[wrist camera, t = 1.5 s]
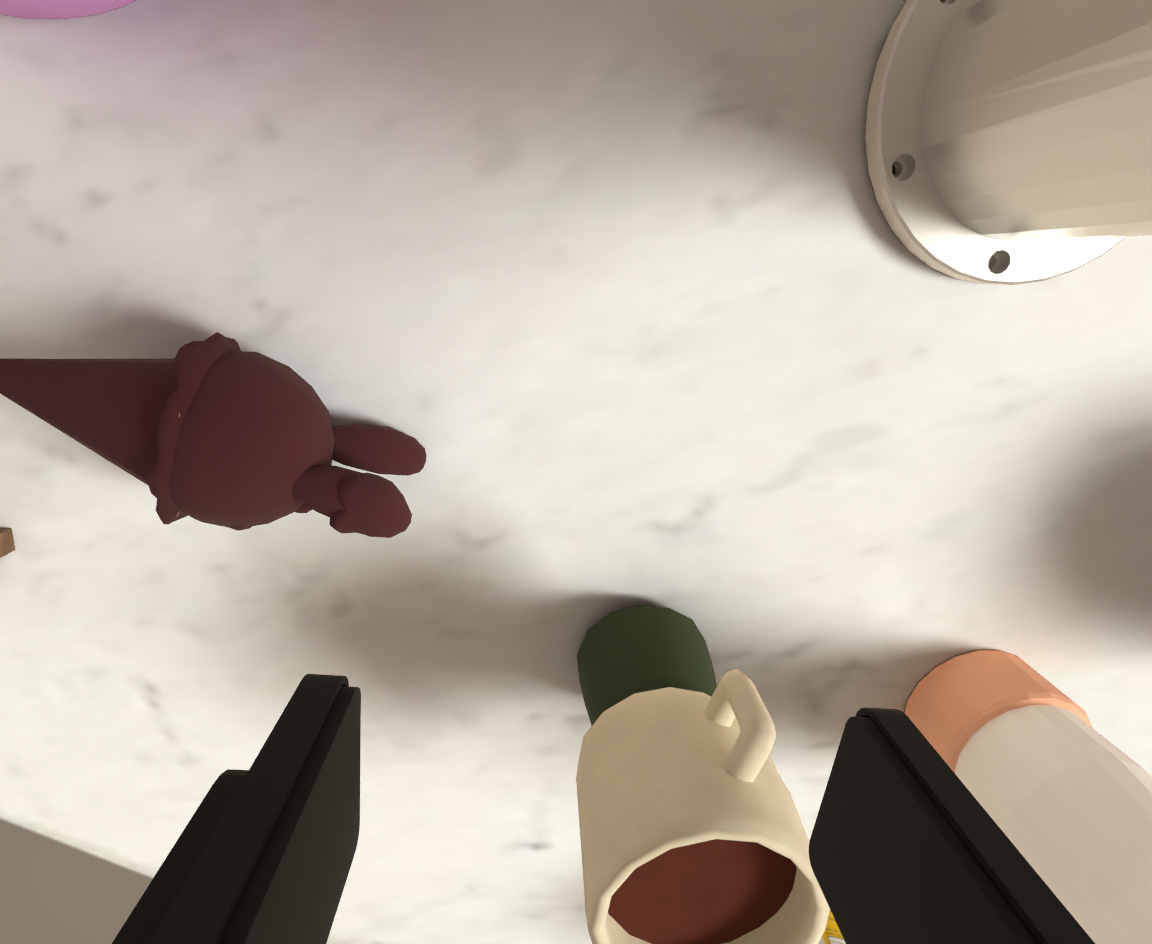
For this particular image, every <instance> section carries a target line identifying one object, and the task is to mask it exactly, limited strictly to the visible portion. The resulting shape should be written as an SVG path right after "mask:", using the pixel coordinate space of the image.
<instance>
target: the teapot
mask: <svg viewBox="0 0 1152 944" xmlns="http://www.w3.org/2000/svg"><path fill="white" fill-rule="evenodd" d="M134 1H136V0H0V14H1V15H7V16H14V17H20V18H33V19H68V18H76V17H83V16H91V15H97V14H100V13H104V12H107V11H110V10H114V9H117V8H120V7H124V6H126V5H128V4H130V3H132V2H134Z"/></svg>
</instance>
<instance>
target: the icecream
mask: <svg viewBox="0 0 1152 944" xmlns="http://www.w3.org/2000/svg"><path fill="white" fill-rule="evenodd" d="M0 393H1V394H2V395H4V396H5V397H7V398H9V399H10V400H12V401H13V402H15V403H17V404H18V405H20V406H22V407H23V408H25V409H26V410H28V411H30V412H31V413H33V414H34V415H36V416H38V417H39V418H41V419H43V420H44V421H46V422H47V423H49V424H51V425H52V426H54V427H55V428H57V429H59V430H60V431H62V432H63V433H65V434H67V435H68V436H70V437H71V438H73V439H75V440H76V441H78V442H80V443H81V444H83V445H84V446H86V447H88V448H89V449H91V450H92V451H94V452H96V453H97V454H99V455H100V456H102V457H104V458H105V459H107V460H108V461H110V462H112V463H113V464H115V465H117V466H118V467H120V468H121V469H123V470H125V471H126V472H128V473H129V474H131V475H133V476H134V477H136V478H137V479H139V480H141V481H142V482H144V483H146V484H147V485H149V488H150V491H151V493H152V494H153V495H154V496H155V497H156V498H157V506H156V512H157V513H158V515H159V517H160V519H161V521H162V522H163V524H170V523H172V522H174V521H176V520H178V519H181V518H183V517H186V516H188V515H189V516H191V517H193V518H194V519H197V520H199V521H201V522H204V523H209V524H214V525H220V526H225V527H229V528H232V529H235V530H243V529H248V528H251V527H252V526H256V525H261V524H267V523H270V522H272V521H275V520H277V519H279V518H281V517H284V516H286V515H288V514H290V513H293V512H297V513H307V512H309V511H310V510H312V509H313V510H315V511H316V512H319V513H321V514H323V515H326V516H328V517H330V525H331V526H332V527H333V528H334V529H335V530H336V531H338V532H340V533H360V534H364V535H367V536H371V537H386V538H391V537H393V536H395V535H397V534H399V533H401V532H403V531H405V530H406V529H407V527H408V526H409V524H410V523H411V516H412V514H411V512H410V509H409V507H408V505H407V503H406V500H405V498H404V496H403V495H402V494H401V492H400V491H399V490H398V489H397V487H396V486H395V485H394V484H393V482H391V481H389V480H387V479H385V478H383V477H380V476H378V475H374V474H370V473H360V472H356V471H353V470H349V469H345V468H341V467H338V466H331V463H332V460H335V461H337V462H339V463H341V464H343V465H346V466H350V467H354V468H358V469H362V470H366V471H370V472H374V473H378V474H392V475H411V474H414V473H418V472H420V471H421V470H422V469H423V467H424V465H425V462H426V453H425V448H424V447H423V446H422V445H421V444H420V443H419V442H418V441H417V440H416V439H415V438H413V437H411V436H408V435H406V434H404V433H402V432H399V431H397V430H395V429H392V428H390V427H382V426H372V425H361V424H350V425H340V426H331V421H330V416H329V411H328V410H327V408H326V407H325V405H324V404H323V402H322V401H321V399H320V398H319V396H318V395H317V394H316V392H315V391H314V389H313V388H312V386H311V385H309V384H308V383H307V382H306V381H305V380H304V379H302V378H301V377H300V376H299V375H298V374H297V373H296V372H294V371H293V370H292V369H291V368H290V367H289V366H286V365H284V364H282V363H280V362H277V361H275V360H273V359H271V358H268V357H266V356H264V355H262V354H259V353H257V352H242V351H241V349H240V347H239V345H238V343H237V342H236V341H235V340H234V339H231V338H226V337H224V336H223V335H221V334H220V333H218V332H217V333H215V334H214V335H212V336H210V337H209V338H207V339H206V341H195V342H191V343H189V344H186V345H184V346H183V347H181V348H180V349H179V350H178V353H177V355H176V358H175V359H0Z"/></svg>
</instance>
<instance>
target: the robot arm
mask: <svg viewBox="0 0 1152 944" xmlns="http://www.w3.org/2000/svg"><path fill="white" fill-rule="evenodd" d="M865 141H866V151H867V161H868V171H869V175H870V179H871V182H872V185H873V189H874V192H875V196H876V199H877V203H878V205H879V207H880V208H881V210H882V212H883V214H884V216H885V218H886V220H887V222H888V224H889V226H890V228H891V230H892V231H893V232H894V233H895V234H896V235H897V237H898V238H899V239H900V240H901V241H902V243H903V244H904V245H905V246H906V247H907V249H908V250H909V251H910V252H911V253H913V254H914V255H915V256H917V257H918V258H919V259H921V260H922V261H923V262H925V263H926V264H927V265H929V266H930V267H931V268H933V269H935V270H938V271H940V272H942V273H945V274H947V275H949V276H951V277H954V278H956V279H960V280H966V281H971V282H976V283H982V284H1007V285H1014V284H1022V283H1030V282H1038V281H1043V280H1046V279H1050V278H1053V277H1056V276H1059V275H1062V274H1065V273H1068V272H1071V271H1073V270H1075V269H1077V268H1079V267H1081V266H1083V265H1085V264H1087V263H1089V262H1091V261H1092V260H1094V259H1096V258H1098V257H1100V256H1102V255H1103V254H1105V253H1106V252H1107V251H1109V250H1110V249H1111V248H1113V247H1114V246H1115V245H1117V244H1118V243H1119V242H1121V241H1122V240H1123V239H1125V238H1126V237H1129V236H1146V235H1152V0H907V2H906V3H905V5H904V7H903V8H902V10H901V12H900V13H899V15H898V17H897V18H896V20H895V22H894V23H893V25H892V27H891V29H890V32H889V34H888V37H887V39H886V42H885V44H884V47H883V49H882V52H881V54H880V57H879V59H878V62H877V64H876V69H875V73H874V77H873V81H872V86H871V90H870V94H869V98H868V106H867V120H866V134H865ZM892 165H894V166H895V168H896V173H895V175H893V173H892ZM360 712H361V693H360V688H358V687H349V684H348V679H347V677H346V676H334V675H318V674H307V675H305V676H304V678H303V679H302V680H301V682H300V684H299V685H298V687H297V689H296V691H295V692H294V694H293V696H292V698H291V699H290V701H289V703H288V704H287V706H286V708H285V710H284V711H283V713H282V715H281V716H280V718H279V720H278V722H277V723H276V725H275V727H274V729H273V730H272V732H271V734H270V735H269V737H268V739H267V741H266V742H265V744H264V746H263V747H262V749H261V751H260V753H259V754H258V756H257V758H256V759H255V761H254V763H253V765H252V766H251V768H250V770H226V771H225V772H224V773H222V774H221V775H220V776H219V777H218V779H217V780H216V781H215V783H214V784H213V785H212V787H211V788H210V790H209V792H208V793H207V795H206V796H205V798H204V799H203V801H202V803H201V804H200V806H199V807H198V809H197V810H196V812H195V814H194V815H193V817H192V818H191V820H190V821H189V823H188V825H187V826H186V828H185V829H184V831H183V833H182V834H181V836H180V837H179V839H178V840H177V842H176V844H175V845H174V847H173V848H172V850H171V851H170V853H169V855H168V856H167V858H166V859H165V861H164V862H163V864H162V866H161V867H160V869H159V870H158V872H157V873H156V875H155V877H154V878H153V880H152V881H151V883H150V884H149V886H148V888H147V889H146V891H145V892H144V894H143V896H142V897H141V899H140V900H139V902H138V903H137V905H136V906H135V908H134V910H133V911H132V913H131V914H130V916H129V918H128V919H127V921H126V922H125V924H124V925H123V927H122V928H121V930H120V932H119V933H118V935H117V936H116V938H115V940H114V941H113V943H112V944H326V942H327V939H328V936H329V933H330V930H331V926H332V923H333V920H334V917H335V914H336V911H337V908H338V904H339V901H340V898H341V895H342V892H343V889H344V885H345V882H346V879H347V876H348V873H349V870H350V867H351V863H352V860H353V857H354V854H355V850H356V846H357V841H358V835H359V825H360ZM809 860H810V864H811V867H812V870H813V873H814V875H815V877H816V879H817V881H818V884H819V886H820V888H821V890H822V892H823V895H824V897H825V899H826V901H827V903H828V906H829V908H830V910H831V912H832V914H833V917H834V919H835V921H836V923H837V925H838V928H839V930H840V932H841V934H842V936H843V939H844V941H845V943H846V944H1095V943H1094V941H1093V940H1092V939H1091V938H1090V937H1089V935H1088V934H1087V933H1086V932H1085V931H1084V929H1083V928H1082V927H1081V926H1080V925H1079V923H1078V922H1077V921H1076V920H1075V918H1074V917H1073V916H1072V915H1071V914H1070V912H1069V911H1068V910H1067V909H1066V908H1065V906H1064V905H1063V904H1062V903H1061V902H1060V900H1059V899H1058V898H1057V897H1056V895H1055V894H1054V893H1053V892H1052V891H1051V889H1050V888H1049V887H1048V886H1047V885H1046V883H1045V882H1044V881H1043V880H1042V879H1041V877H1040V876H1039V875H1038V874H1037V872H1036V871H1035V870H1034V869H1033V868H1032V866H1031V865H1030V864H1029V863H1028V862H1027V860H1026V859H1025V858H1024V857H1023V855H1022V854H1021V853H1020V852H1019V851H1018V849H1017V848H1016V847H1015V846H1014V845H1013V843H1012V842H1011V841H1010V840H1009V839H1008V837H1007V836H1006V835H1005V834H1004V832H1003V831H1002V830H1001V829H1000V828H999V826H998V825H997V824H996V823H995V822H994V820H993V819H992V818H991V817H990V816H989V814H988V813H987V812H986V811H985V809H984V808H983V807H982V806H981V805H980V803H979V802H978V801H977V800H976V799H975V797H974V796H973V795H972V794H971V792H970V791H969V790H968V789H967V788H966V786H965V785H964V784H963V783H962V782H961V780H960V779H959V778H958V777H957V776H956V774H955V773H954V772H953V771H952V769H951V768H950V767H949V766H948V765H947V763H946V762H945V761H944V760H943V759H942V757H941V756H940V755H939V754H938V753H937V751H936V750H935V749H934V748H933V746H932V745H931V744H930V743H929V742H928V740H927V739H926V738H925V737H924V736H923V734H922V733H921V732H920V731H919V730H918V728H917V727H916V726H915V725H914V723H913V722H912V721H911V720H910V719H909V717H908V716H907V715H906V714H905V713H903V712H902V711H900V710H897V709H880V708H861V709H860V710H859V711H858V712H857V714H856V716H855V717H850V718H849V719H848V720H847V723H846V725H845V728H844V732H843V735H842V738H841V741H840V745H839V748H838V751H837V754H836V758H835V761H834V764H833V767H832V771H831V774H830V777H829V780H828V783H827V787H826V790H825V793H824V796H823V800H822V803H821V806H820V809H819V813H818V816H817V819H816V822H815V826H814V829H813V832H812V835H811V839H810V842H809Z"/></svg>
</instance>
